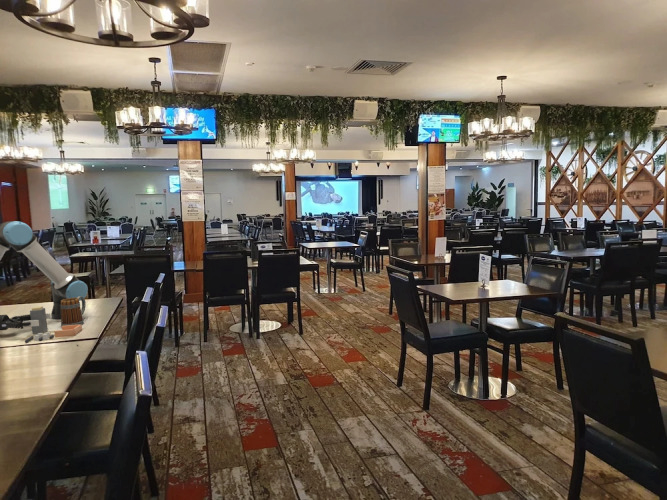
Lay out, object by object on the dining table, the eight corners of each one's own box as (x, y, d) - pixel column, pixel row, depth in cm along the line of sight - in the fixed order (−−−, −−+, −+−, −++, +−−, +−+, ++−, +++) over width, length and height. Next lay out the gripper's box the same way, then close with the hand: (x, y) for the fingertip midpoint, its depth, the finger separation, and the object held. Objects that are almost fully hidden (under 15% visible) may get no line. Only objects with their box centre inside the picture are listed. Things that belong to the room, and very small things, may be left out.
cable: (31, 338, 233) (31, 335, 232) (55, 336, 234) (55, 333, 234) (24, 343, 225) (24, 340, 225) (49, 341, 227) (48, 338, 227)
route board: (34, 334, 245) (34, 331, 244) (85, 330, 248) (84, 327, 248) (17, 345, 227) (17, 342, 227) (72, 340, 231) (72, 338, 231)
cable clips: (38, 338, 233) (38, 333, 232) (51, 337, 233) (50, 332, 233) (34, 340, 228) (34, 335, 228) (47, 339, 229) (46, 334, 229)
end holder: (63, 331, 243) (62, 325, 243) (82, 330, 244) (81, 324, 244) (55, 337, 233) (54, 331, 233) (75, 335, 235) (74, 329, 234)
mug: (74, 330, 249) (71, 301, 247) (56, 329, 251) (53, 301, 250) (94, 322, 264) (92, 295, 263) (78, 321, 267) (75, 295, 265)
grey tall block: (37, 331, 244) (34, 306, 243) (47, 331, 245) (44, 305, 243) (32, 334, 239) (29, 309, 238) (43, 333, 240) (40, 308, 239)
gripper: (11, 323, 251) (55, 320, 254) (-15, 337, 227) (34, 333, 230) (9, 309, 250) (53, 306, 253) (-17, 321, 226) (32, 318, 229)
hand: (44, 319), depth 242 cm, fingers open, 13 cm apart
